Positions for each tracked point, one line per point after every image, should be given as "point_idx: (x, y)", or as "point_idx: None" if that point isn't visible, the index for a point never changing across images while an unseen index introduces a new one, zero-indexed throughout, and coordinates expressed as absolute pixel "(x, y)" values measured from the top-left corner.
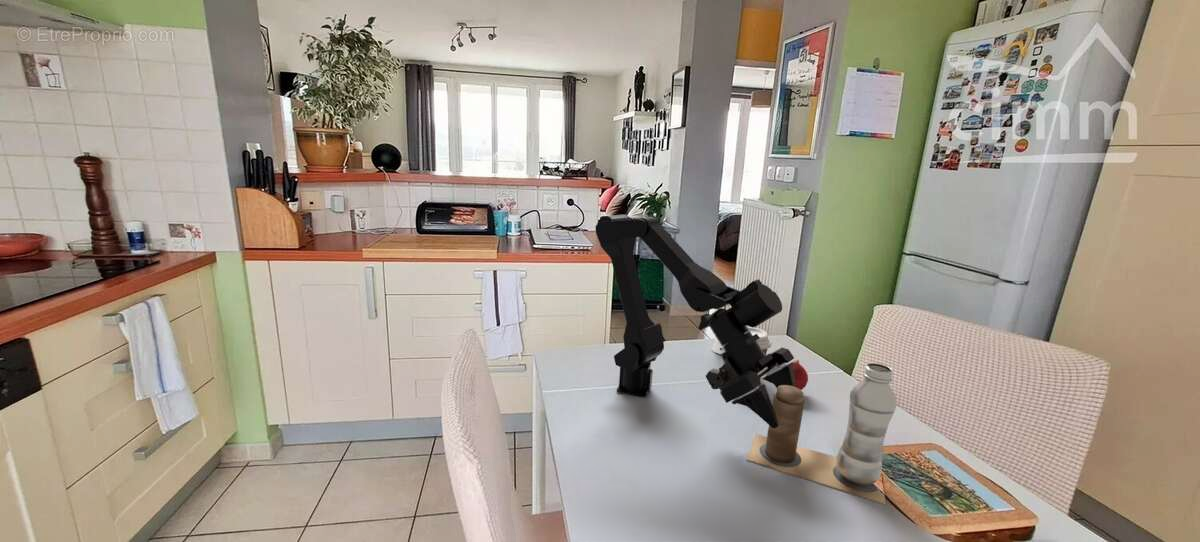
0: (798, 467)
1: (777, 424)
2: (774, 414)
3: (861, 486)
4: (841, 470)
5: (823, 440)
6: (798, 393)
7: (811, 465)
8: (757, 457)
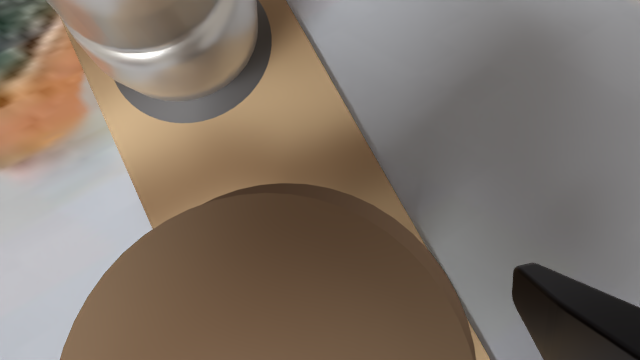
0: None
1: (542, 267)
2: (607, 310)
3: None
4: (252, 45)
5: (31, 261)
6: (220, 271)
7: (269, 179)
8: None
